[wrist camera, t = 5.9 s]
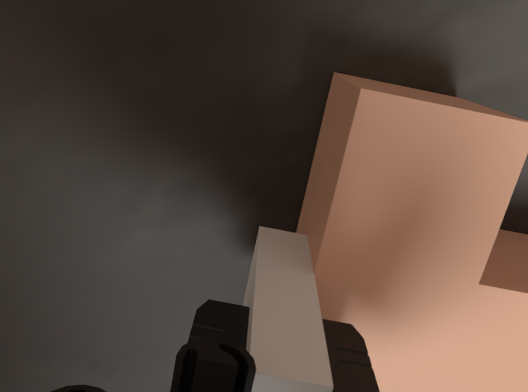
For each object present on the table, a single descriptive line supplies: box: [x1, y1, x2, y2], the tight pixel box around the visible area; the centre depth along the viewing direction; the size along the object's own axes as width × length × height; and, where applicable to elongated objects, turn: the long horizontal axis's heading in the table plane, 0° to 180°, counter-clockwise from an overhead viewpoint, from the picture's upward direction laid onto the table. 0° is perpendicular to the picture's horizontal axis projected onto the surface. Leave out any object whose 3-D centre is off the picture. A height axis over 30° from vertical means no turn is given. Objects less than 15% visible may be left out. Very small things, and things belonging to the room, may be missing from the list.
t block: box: [296, 72, 528, 392], centre depth 15 cm, size 12×12×5 cm
